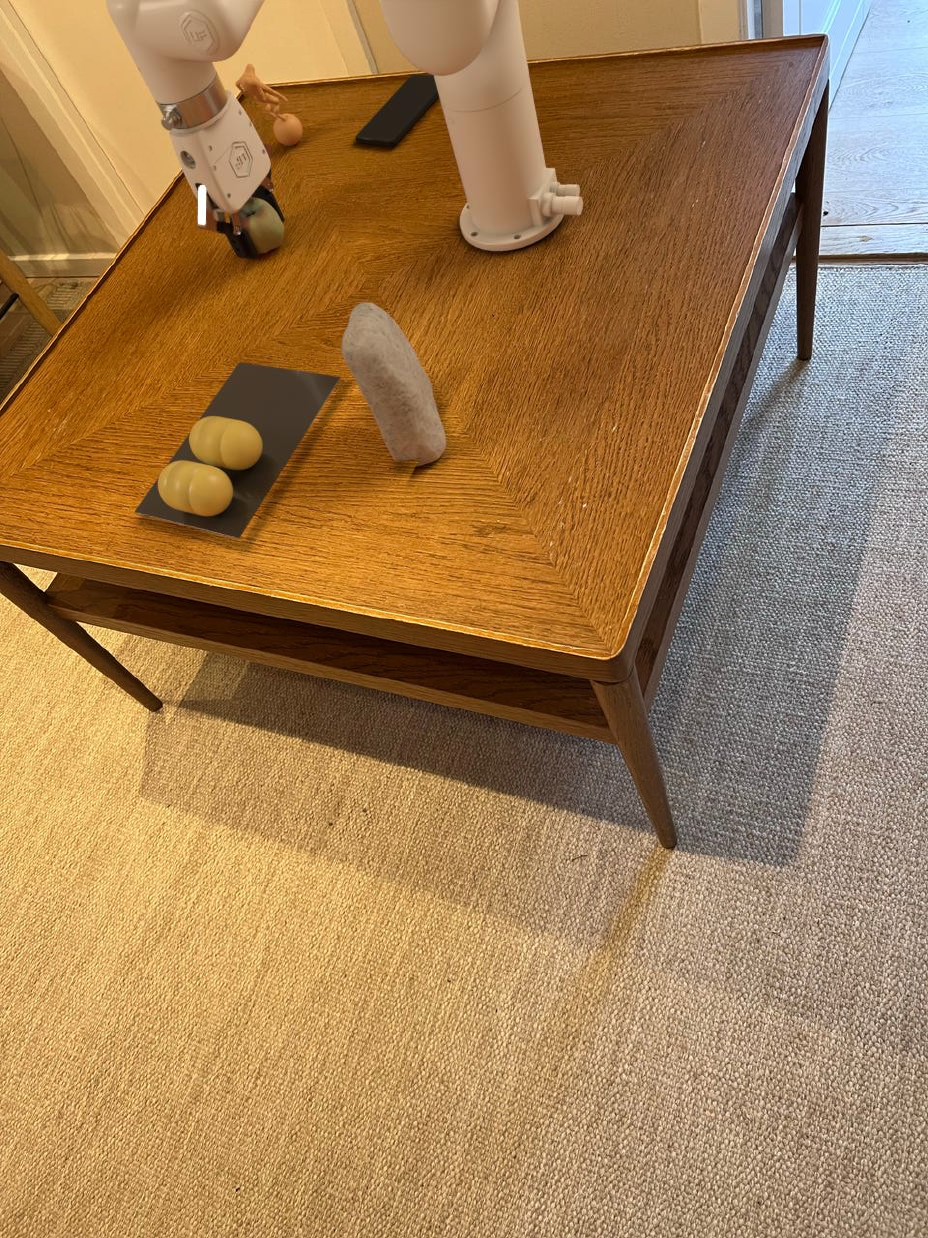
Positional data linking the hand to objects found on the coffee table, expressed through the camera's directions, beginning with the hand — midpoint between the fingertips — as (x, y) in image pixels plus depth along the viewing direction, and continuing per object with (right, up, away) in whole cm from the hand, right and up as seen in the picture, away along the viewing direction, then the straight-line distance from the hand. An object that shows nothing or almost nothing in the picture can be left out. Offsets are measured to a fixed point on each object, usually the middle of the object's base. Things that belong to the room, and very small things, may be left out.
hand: (261, 237), depth 116 cm
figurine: (+1, +18, +12) cm, 22 cm away
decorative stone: (+21, -29, -23) cm, 43 cm away
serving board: (+3, -31, -19) cm, 36 cm away
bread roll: (0, -37, -24) cm, 44 cm away
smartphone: (+18, +21, +9) cm, 29 cm away
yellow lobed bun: (+2, -32, -21) cm, 38 cm away
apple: (0, -1, +1) cm, 1 cm away
